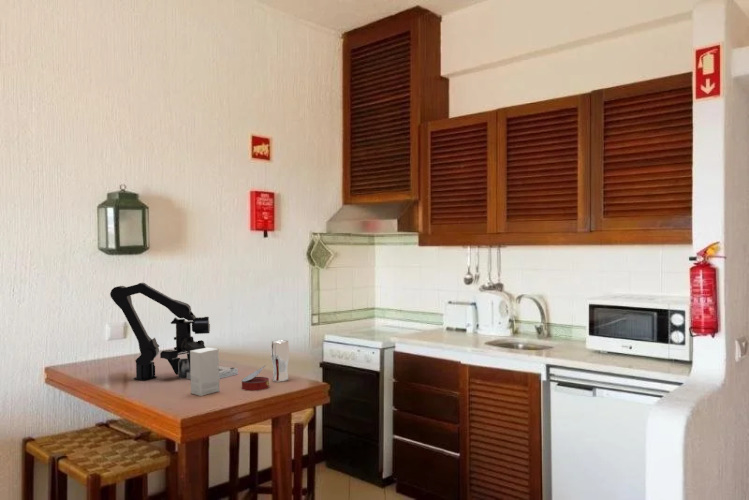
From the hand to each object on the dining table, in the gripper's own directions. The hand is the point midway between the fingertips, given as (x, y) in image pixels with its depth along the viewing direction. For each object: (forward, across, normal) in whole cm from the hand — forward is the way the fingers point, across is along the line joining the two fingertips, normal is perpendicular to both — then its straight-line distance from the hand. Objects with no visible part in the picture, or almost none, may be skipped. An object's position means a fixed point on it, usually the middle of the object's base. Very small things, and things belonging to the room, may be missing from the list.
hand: (183, 372), depth 241 cm
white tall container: (+2, +14, -39) cm, 41 cm away
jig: (+2, +6, -10) cm, 12 cm away
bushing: (+2, 0, 0) cm, 2 cm away
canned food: (+2, 0, -39) cm, 39 cm away
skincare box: (+2, -15, -29) cm, 33 cm away
